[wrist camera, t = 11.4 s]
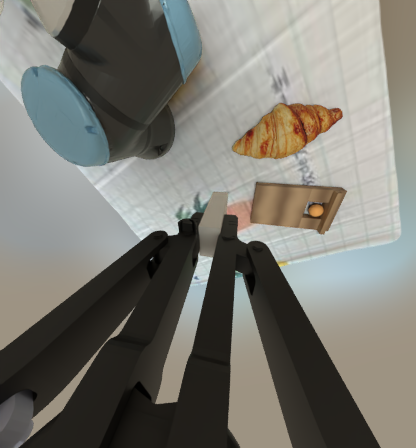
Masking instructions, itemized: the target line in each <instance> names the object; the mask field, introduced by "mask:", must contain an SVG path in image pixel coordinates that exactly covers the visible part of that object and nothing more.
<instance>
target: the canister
mask: <svg viewBox="0 0 416 448" xmlns="http://www.w3.org/2000/svg"><path fill="white" fill-rule="evenodd" d="M3 7H4V0H0V15H1V13H2V11H3Z"/></svg>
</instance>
